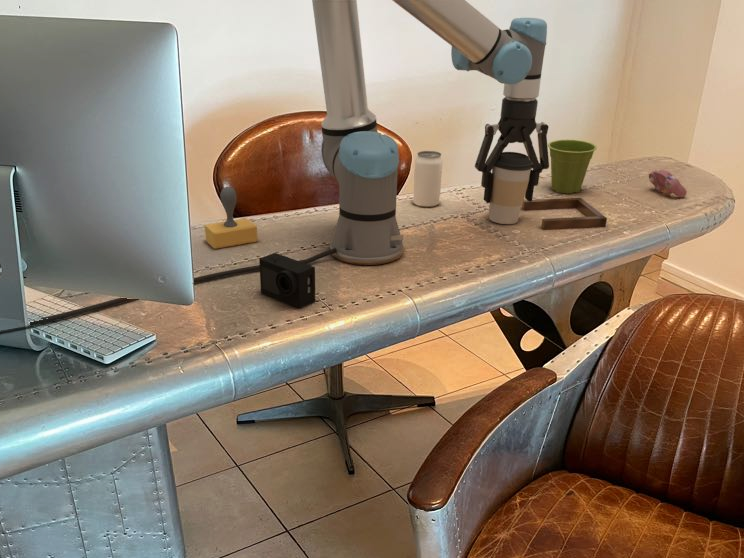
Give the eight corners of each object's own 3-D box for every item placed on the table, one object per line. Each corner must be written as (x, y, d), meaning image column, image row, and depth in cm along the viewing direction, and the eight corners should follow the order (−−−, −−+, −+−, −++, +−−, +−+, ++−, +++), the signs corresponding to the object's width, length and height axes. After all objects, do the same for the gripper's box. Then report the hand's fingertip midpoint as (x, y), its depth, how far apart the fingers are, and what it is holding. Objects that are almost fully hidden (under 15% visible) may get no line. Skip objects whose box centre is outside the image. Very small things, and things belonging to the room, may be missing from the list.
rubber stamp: (214, 249, 172) (210, 193, 165) (205, 241, 176) (200, 186, 170) (258, 242, 175) (255, 187, 169) (247, 233, 180) (244, 180, 173)
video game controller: (648, 193, 210) (643, 170, 206) (664, 184, 210) (658, 161, 206) (673, 205, 202) (668, 181, 198) (689, 195, 202) (684, 171, 198)
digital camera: (255, 294, 152) (253, 259, 148) (276, 286, 155) (274, 251, 152) (294, 311, 146) (293, 274, 142) (315, 301, 149) (314, 266, 146)
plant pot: (538, 182, 213) (544, 139, 207) (583, 183, 212) (590, 139, 206) (546, 196, 203) (552, 151, 197) (594, 197, 202) (602, 152, 196)
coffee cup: (520, 214, 191) (532, 150, 184) (524, 227, 184) (536, 160, 176) (482, 211, 192) (492, 147, 184) (484, 223, 184) (495, 157, 176)
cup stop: (543, 229, 182) (544, 220, 181) (521, 208, 195) (522, 200, 194) (605, 226, 184) (607, 218, 183) (579, 205, 197) (581, 197, 196)
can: (444, 205, 196) (447, 155, 190) (420, 208, 194) (423, 158, 188) (431, 198, 202) (435, 149, 195) (408, 201, 200) (411, 151, 193)
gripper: (562, 93, 178) (547, 193, 190) (466, 95, 176) (457, 197, 187) (575, 100, 172) (559, 203, 184) (475, 102, 169) (465, 207, 181)
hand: (507, 200), depth 186 cm, fingers closed on coffee cup, 9 cm apart
